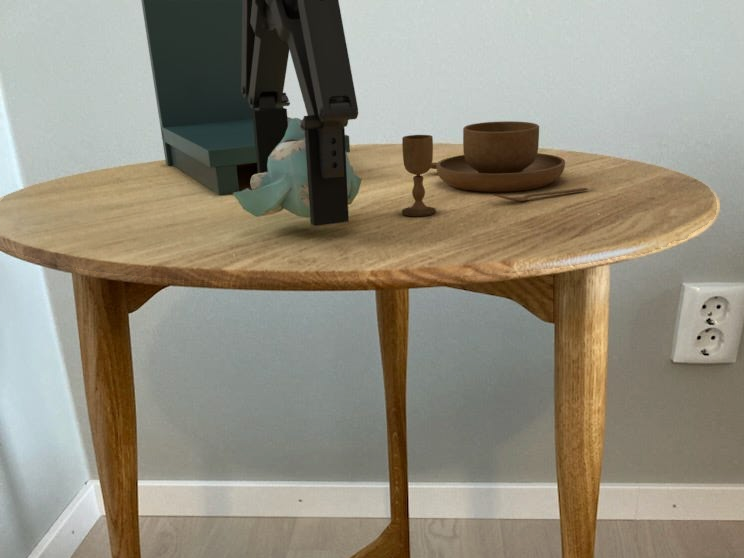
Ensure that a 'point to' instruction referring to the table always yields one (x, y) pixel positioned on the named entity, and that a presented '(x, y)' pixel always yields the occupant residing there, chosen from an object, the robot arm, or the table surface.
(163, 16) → the teal chair-shaped stand
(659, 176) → the table surface
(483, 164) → the place setting
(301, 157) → the stuffed animal
